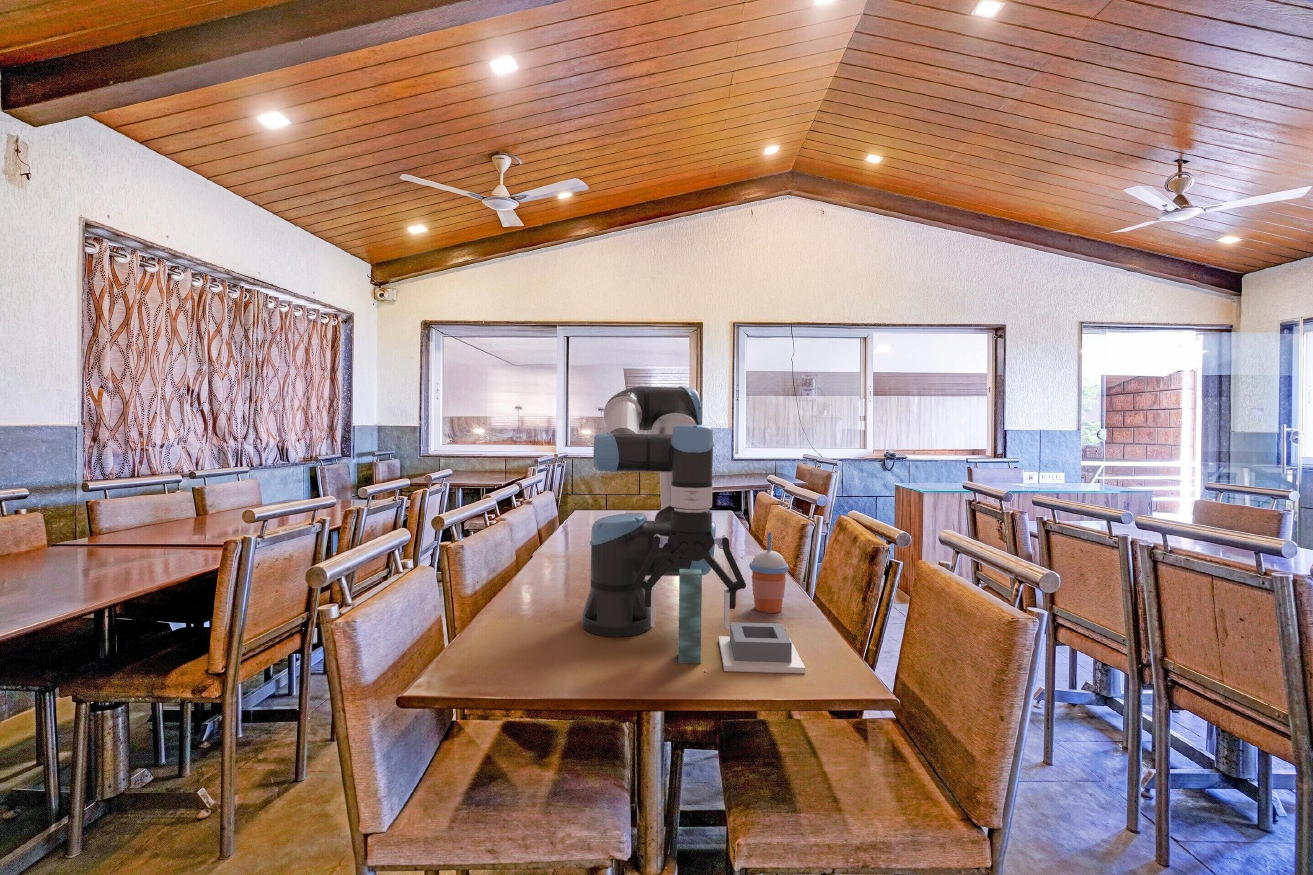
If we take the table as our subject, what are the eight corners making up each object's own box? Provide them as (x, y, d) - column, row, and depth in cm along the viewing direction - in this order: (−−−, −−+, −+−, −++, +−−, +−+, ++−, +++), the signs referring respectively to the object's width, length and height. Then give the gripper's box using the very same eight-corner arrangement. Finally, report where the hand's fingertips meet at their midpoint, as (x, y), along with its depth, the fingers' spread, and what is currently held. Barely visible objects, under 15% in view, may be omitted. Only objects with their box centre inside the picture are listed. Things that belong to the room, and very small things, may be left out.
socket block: (724, 670, 101) (724, 645, 101) (718, 640, 115) (719, 618, 115) (805, 673, 101) (805, 647, 101) (789, 642, 115) (790, 620, 115)
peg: (678, 662, 105) (679, 574, 104) (678, 653, 109) (679, 568, 108) (700, 663, 104) (701, 574, 104) (699, 654, 108) (701, 569, 108)
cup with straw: (791, 615, 131) (793, 536, 131) (751, 615, 131) (752, 535, 131) (783, 603, 140) (785, 529, 140) (746, 602, 140) (747, 528, 140)
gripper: (621, 510, 103) (620, 630, 103) (762, 513, 102) (760, 634, 102) (625, 505, 110) (624, 616, 111) (757, 507, 109) (755, 619, 110)
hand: (689, 625), depth 106 cm, fingers open, 13 cm apart
